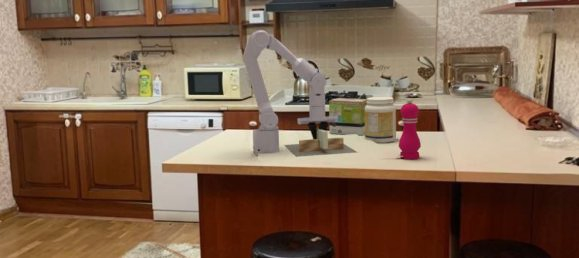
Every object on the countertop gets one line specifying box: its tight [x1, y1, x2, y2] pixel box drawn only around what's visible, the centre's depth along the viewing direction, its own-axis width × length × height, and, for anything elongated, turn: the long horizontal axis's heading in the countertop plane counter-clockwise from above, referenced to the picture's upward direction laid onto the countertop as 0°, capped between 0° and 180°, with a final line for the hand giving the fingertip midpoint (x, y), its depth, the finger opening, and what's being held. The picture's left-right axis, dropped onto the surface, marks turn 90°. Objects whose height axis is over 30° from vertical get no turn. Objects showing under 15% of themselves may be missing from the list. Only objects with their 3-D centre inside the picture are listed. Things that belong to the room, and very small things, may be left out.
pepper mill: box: [398, 98, 422, 161], centre depth 190 cm, size 7×7×20 cm
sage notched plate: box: [316, 127, 329, 149], centre depth 204 cm, size 14×2×6 cm, turn 11°
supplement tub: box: [364, 96, 397, 144], centre depth 224 cm, size 12×12×17 cm
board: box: [283, 143, 358, 158], centre depth 208 cm, size 22×23×1 cm
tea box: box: [328, 97, 368, 136], centre depth 244 cm, size 15×10×15 cm
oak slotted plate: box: [298, 137, 345, 152], centre depth 204 cm, size 16×2×4 cm, turn 101°
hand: (318, 142), depth 209 cm, fingers closed on sage notched plate, 2 cm apart
